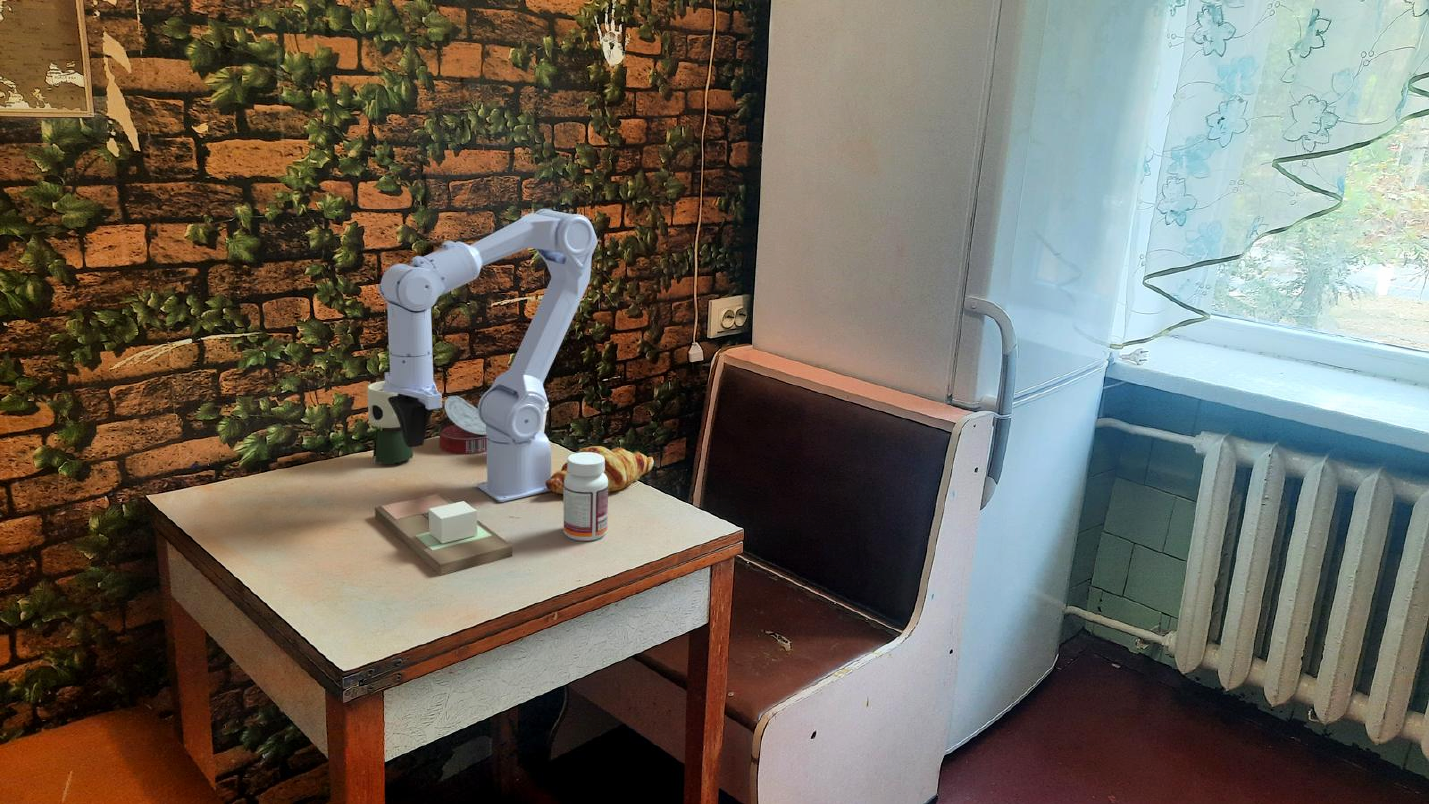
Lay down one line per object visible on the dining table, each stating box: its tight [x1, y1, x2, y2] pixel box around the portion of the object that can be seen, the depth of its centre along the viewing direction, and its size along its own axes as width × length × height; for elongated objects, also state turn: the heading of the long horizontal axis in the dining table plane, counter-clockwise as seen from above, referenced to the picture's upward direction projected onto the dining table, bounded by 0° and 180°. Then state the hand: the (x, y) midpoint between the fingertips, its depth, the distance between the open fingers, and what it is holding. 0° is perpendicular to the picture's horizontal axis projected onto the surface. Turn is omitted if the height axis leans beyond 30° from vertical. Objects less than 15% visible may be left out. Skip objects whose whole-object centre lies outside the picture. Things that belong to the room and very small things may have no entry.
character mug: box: [366, 380, 414, 465], centre depth 156 cm, size 11×7×13 cm, turn 37°
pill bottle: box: [563, 452, 609, 542], centre depth 132 cm, size 6×6×11 cm
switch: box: [374, 493, 513, 576], centre depth 130 cm, size 10×22×2 cm, turn 40°
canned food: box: [438, 395, 487, 455], centre depth 166 cm, size 11×10×10 cm
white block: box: [429, 500, 478, 544], centre depth 126 cm, size 5×4×4 cm
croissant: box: [546, 445, 655, 495], centre depth 151 cm, size 21×10×8 cm, turn 136°
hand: (414, 445), depth 135 cm, fingers closed
